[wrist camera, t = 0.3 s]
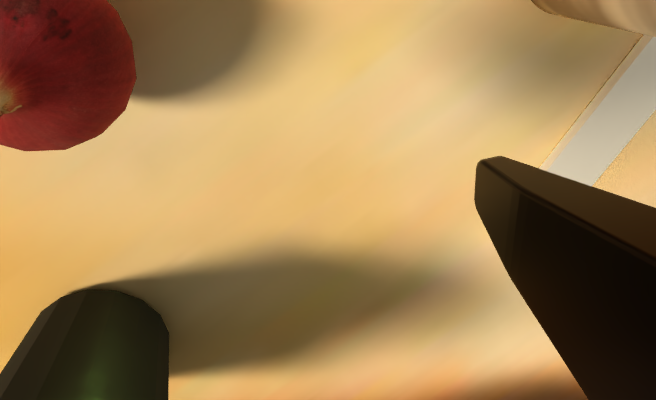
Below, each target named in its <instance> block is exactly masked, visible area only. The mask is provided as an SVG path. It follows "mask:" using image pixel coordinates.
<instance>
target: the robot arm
mask: <svg viewBox="0 0 656 400" xmlns="http://www.w3.org/2000/svg"><path fill="white" fill-rule="evenodd" d="M474 200H475V206H476V209H477V211H478V214H479V216H480V218H481V220H482V222H483V224H484V226H485V228H486V230H487V232H488V234H489V236H490V238H491V240H492V242H493V244H494V246H495V248H496V250H497V253H498V255H499V257H500V259H501V261H502V263H503V265H504V267H505V269H506V271H507V272H508V274H509V276H510V278H511V280H512V281H513V283H514V284H515V286H516V288H517V289H518V291H519V292H520V294H521V295H522V297H523V299H524V300H525V302H526V303H527V305H528V306H529V308H530V309H531V311H532V313H533V314H534V316H535V317H536V319H537V320H538V322H539V323H540V325H541V326H542V328H543V330H544V331H545V333H546V334H547V336H548V337H549V339H550V340H551V342H552V344H553V345H554V347H555V348H556V350H557V351H558V353H559V354H560V356H561V357H562V359H563V361H564V362H565V364H566V365H567V367H568V368H569V370H570V371H571V373H572V375H573V376H574V378H575V379H576V381H577V382H578V384H579V385H580V387H581V388H582V390H583V392H584V393H585V395H586V396H587V398H588V399H589V400H656V208H654V207H651V206H648V205H645V204H642V203H639V202H636V201H633V200H630V199H627V198H625V197H622V196H619V195H616V194H613V193H610V192H607V191H604V190H601V189H598V188H595V187H592V186H589V185H586V184H583V183H580V182H577V181H574V180H571V179H568V178H565V177H562V176H559V175H556V174H553V173H550V172H547V171H544V170H542V169H539V168H536V167H533V166H530V165H527V164H524V163H521V162H518V161H515V160H512V159H509V158H506V157H503V156H496V157H492V158H487V159H483V160H480V161H479V162H478V164H477V167H476V180H475V196H474Z"/></svg>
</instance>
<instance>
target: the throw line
mask: <svg viewBox="0 0 656 400" xmlns="http://www.w3.org/2000/svg"><path fill="white" fill-rule="evenodd" d="M655 110H656V37H653V36H649V35H643V36H642V37H641V39H640V40H639V41H638V43H637V44H636V45H635V46H634V48H633V49H632V50H631V51H630V53H629V54H628V55H627V57H626V58H625V59H624V60H623V62H622V63H621V64H620V65H619V67H618V68H617V69H616V71H615V72H614V73H613V74H612V76H611V77H610V78H609V79H608V81H607V82H606V83H605V85H604V86H603V87H602V88H601V90H600V91H599V92H598V93H597V95H596V96H595V97H594V99H593V100H592V101H591V102H590V104H589V105H588V106H587V107H586V109H585V110H584V111H583V113H582V114H581V115H580V116H579V118H578V119H577V120H576V121H575V123H574V124H573V125H572V127H571V128H570V129H569V130H568V132H567V133H566V134H565V135H564V137H563V138H562V139H561V140H560V142H559V143H558V144H557V146H556V147H555V148H554V149H553V151H552V152H551V153H550V154H549V156H548V157H547V158H546V160H545V161H544V162H543V163H542V165H541V166H540V167H539V169H542V170H544V171H547V172H550V173H553V174H556V175H559V176H562V177H565V178H568V179H571V180H574V181H577V182H580V183H583V184H586V185H589V186H592V185H593V184H594V183H595V182H596V181H597V179H598V178H599V177H600V176H601V175H602V173H603V172H604V171H605V170H606V169H607V167H608V166H609V165H610V164H611V163H612V161H613V160H614V159H615V158H616V157H617V155H618V154H619V153H620V152H621V151H622V149H623V148H624V147H625V146H626V145H627V143H628V142H629V141H630V140H631V139H632V138H633V136H634V135H635V134H636V133H637V132H638V130H639V129H640V128H641V127H642V126H643V124H644V123H645V122H646V121H647V120H648V118H649V117H650V116H651V115H652V114H653V112H654V111H655Z"/></svg>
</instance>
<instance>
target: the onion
mask: <svg viewBox="0 0 656 400" xmlns="http://www.w3.org/2000/svg"><path fill="white" fill-rule="evenodd" d="M136 79H137V78H136V70H135V62H134V55H133V47H132V41H131V39H130V37H129V35H128V33H127V31H126V29H125V27H124V25H123V23H122V21H121V18H120V16H119V14H118V12H117V11H116V10H115V9H114V8H113V7H112V6H111V5H110V4H109V3H108V2H107V1H106V0H0V145H4V146H8V147H11V148H15V149H19V150H23V151H46V150H66V149H68V148H71V147H73V146H76V145H78V144H80V143H83V142H85V141H88V140H90V139H92V138H95V137H97V136H98V135H100V134H102V133H103V132H104V131H105V130H106V129H107V128H108V127H109V126H110V125H111V124H112V123H113V122H114V121H115V120H116V119H117V118H118V117H119V116H120V115H121V114H122V113H123V112H124V111H125V109H126V107H127V104H128V101H129V98H130V95H131V93H132V90H133V87H134V84H135V81H136Z"/></svg>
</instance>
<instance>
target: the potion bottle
mask: <svg viewBox="0 0 656 400" xmlns="http://www.w3.org/2000/svg"><path fill="white" fill-rule="evenodd" d="M168 375H169V332H168V330H167V328H166V326H165V324H164V322H163V320H162V318H161V316H160V314H158V313H157V312H156V311H155V310H154V309H152V308H151V307H150V306H149V305H147V304H146V303H145V302H144V301H143V300H141V299H138V298H135V297H132V296H129V295H126V294H124V293H121V292H118V291H105V290H85V291H82V292H78V293H74V294H71V295H67V296H63V297H61V298H59V299H58V300H57V301H55V302H54V303H52V304H51V305H50V306H48V307H47V308H46V309H44V310H43V311H41V313H40V314H39V316H38V317H37V319H36V321H35V322H34V324H33V325H32V327H31V328H30V330H29V331H28V333H27V334H26V336H25V337H24V339H23V340H22V342H21V343H20V345H19V346H18V348H17V349H16V351H15V352H14V354H13V355H12V357H11V358H10V360H9V361H8V363H7V364H6V366H5V367H4V369H3V370H2V372H1V374H0V400H168Z"/></svg>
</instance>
